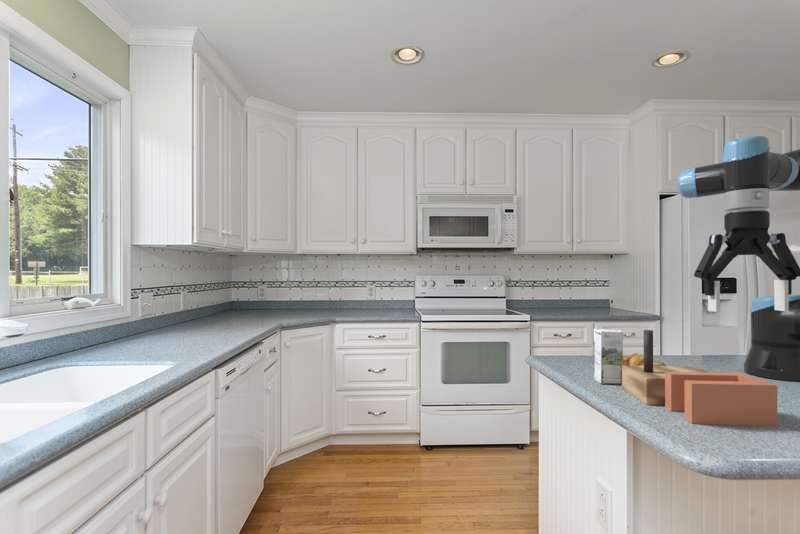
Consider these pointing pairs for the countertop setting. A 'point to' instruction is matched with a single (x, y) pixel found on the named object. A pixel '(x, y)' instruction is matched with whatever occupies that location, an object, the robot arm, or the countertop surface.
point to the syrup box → (608, 355)
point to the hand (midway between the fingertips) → (747, 311)
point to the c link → (721, 398)
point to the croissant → (638, 361)
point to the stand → (649, 376)
